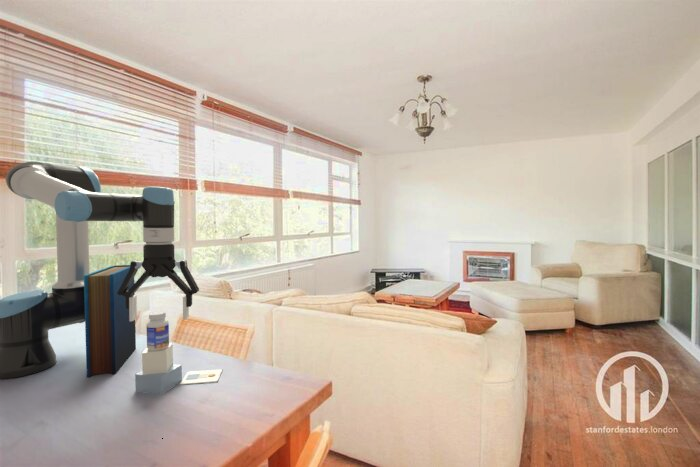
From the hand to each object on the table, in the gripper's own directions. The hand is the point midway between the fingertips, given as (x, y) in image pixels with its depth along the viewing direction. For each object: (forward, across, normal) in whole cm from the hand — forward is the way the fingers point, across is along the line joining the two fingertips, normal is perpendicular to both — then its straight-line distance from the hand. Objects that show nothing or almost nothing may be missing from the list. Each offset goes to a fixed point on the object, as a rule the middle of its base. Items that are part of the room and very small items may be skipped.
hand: (159, 319), depth 96 cm
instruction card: (+18, +10, +3) cm, 21 cm away
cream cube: (+14, 0, -1) cm, 14 cm away
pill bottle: (+8, 0, -1) cm, 8 cm away
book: (+19, -22, +21) cm, 35 cm away
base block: (+19, 0, -1) cm, 19 cm away
